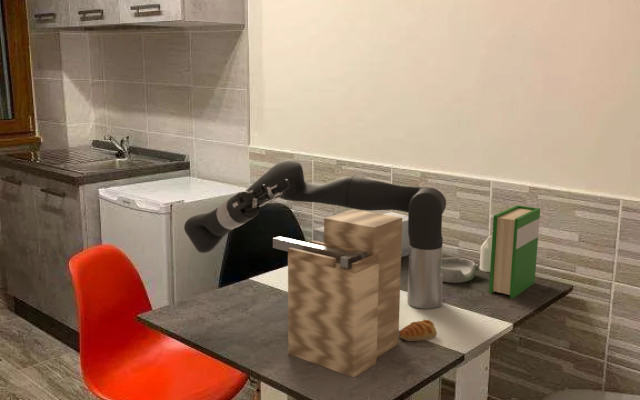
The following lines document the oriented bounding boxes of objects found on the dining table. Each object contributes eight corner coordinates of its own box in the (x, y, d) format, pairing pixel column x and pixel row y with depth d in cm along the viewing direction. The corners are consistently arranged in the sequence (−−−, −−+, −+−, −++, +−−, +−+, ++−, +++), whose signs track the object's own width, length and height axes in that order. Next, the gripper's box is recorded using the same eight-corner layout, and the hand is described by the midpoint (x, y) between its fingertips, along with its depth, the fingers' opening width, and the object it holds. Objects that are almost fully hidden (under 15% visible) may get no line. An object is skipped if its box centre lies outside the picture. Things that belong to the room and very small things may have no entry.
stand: (288, 353, 155) (287, 223, 148) (341, 326, 171) (342, 207, 164) (353, 377, 143) (356, 237, 137) (403, 345, 159) (407, 218, 153)
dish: (480, 275, 212) (481, 260, 211) (466, 287, 201) (466, 272, 200) (439, 267, 220) (439, 253, 219) (422, 279, 209) (423, 264, 208)
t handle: (266, 250, 155) (266, 240, 155) (285, 243, 160) (285, 234, 160) (348, 269, 141) (348, 259, 140) (366, 262, 146) (366, 252, 145)
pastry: (409, 346, 160) (409, 331, 159) (393, 336, 166) (393, 322, 165) (439, 338, 164) (439, 323, 164) (422, 328, 170) (422, 315, 169)
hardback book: (512, 298, 191) (518, 219, 186) (488, 293, 196) (493, 215, 191) (534, 282, 205) (540, 208, 200) (511, 278, 209) (516, 205, 204)
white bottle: (487, 231, 219) (502, 234, 216) (485, 265, 222) (500, 269, 218) (478, 234, 215) (493, 238, 211) (476, 269, 218) (491, 273, 214)
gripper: (261, 218, 175) (301, 194, 165) (223, 229, 164) (263, 204, 154) (250, 193, 176) (289, 167, 166) (211, 202, 165) (251, 175, 155)
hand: (277, 185), depth 160 cm, fingers open, 8 cm apart
